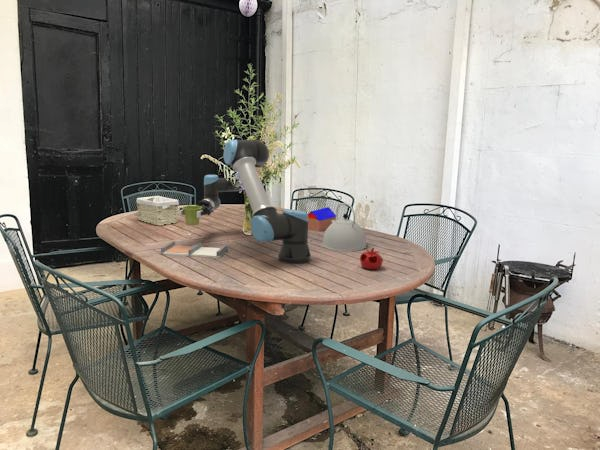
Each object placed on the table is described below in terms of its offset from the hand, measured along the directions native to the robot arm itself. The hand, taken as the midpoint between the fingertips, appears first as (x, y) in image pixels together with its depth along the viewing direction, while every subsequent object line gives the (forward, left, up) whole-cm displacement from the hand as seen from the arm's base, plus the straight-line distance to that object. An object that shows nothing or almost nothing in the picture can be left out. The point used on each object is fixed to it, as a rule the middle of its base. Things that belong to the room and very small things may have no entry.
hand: (188, 214), depth 231 cm
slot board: (-2, +5, -18) cm, 19 cm away
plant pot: (-2, -4, -6) cm, 8 cm away
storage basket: (+7, -72, -18) cm, 75 cm away
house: (-84, -32, -18) cm, 92 cm away
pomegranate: (-71, +52, -18) cm, 90 cm away
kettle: (-78, +12, -18) cm, 81 cm away
